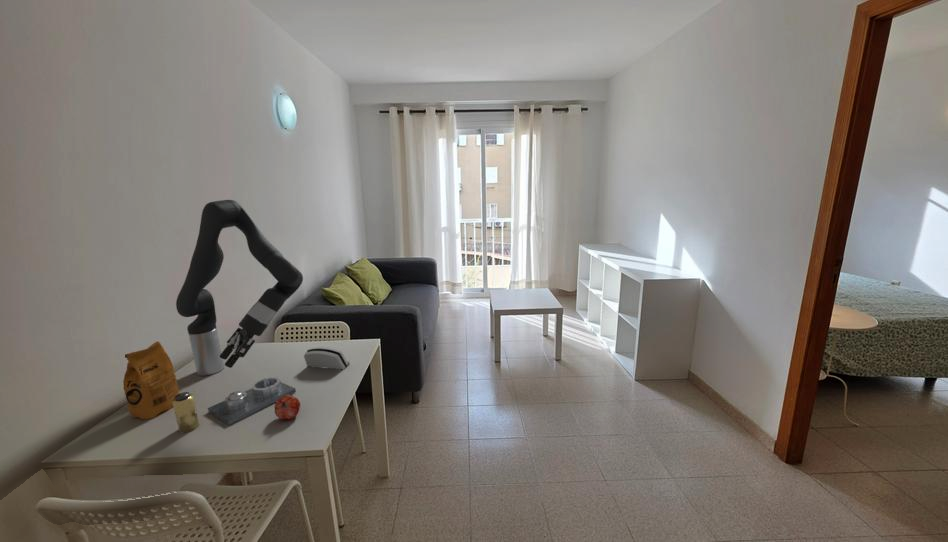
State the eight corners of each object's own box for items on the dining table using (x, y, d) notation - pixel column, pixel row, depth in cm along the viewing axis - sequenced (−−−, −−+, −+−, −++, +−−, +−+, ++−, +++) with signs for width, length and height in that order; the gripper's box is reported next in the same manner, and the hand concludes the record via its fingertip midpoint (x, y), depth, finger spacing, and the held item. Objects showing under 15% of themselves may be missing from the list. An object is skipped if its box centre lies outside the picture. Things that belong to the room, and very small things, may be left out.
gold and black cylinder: (176, 429, 118) (168, 396, 115) (194, 421, 122) (187, 389, 119) (183, 434, 115) (175, 401, 113) (202, 425, 119) (195, 393, 117)
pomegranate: (280, 419, 125) (263, 416, 116) (288, 395, 128) (272, 391, 119) (302, 422, 124) (287, 420, 115) (309, 398, 127) (294, 394, 118)
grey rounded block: (350, 363, 157) (343, 345, 152) (345, 372, 153) (337, 354, 148) (314, 361, 161) (306, 343, 155) (308, 369, 157) (299, 351, 152)
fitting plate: (208, 412, 126) (205, 397, 125) (273, 382, 144) (271, 369, 143) (229, 425, 119) (226, 409, 118) (295, 392, 137) (293, 377, 135)
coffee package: (125, 418, 125) (108, 355, 120) (163, 398, 137) (149, 339, 132) (148, 422, 122) (132, 357, 118) (186, 400, 134) (172, 341, 129)
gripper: (242, 308, 130) (209, 351, 125) (253, 317, 120) (217, 364, 115) (262, 319, 135) (231, 360, 130) (274, 328, 124) (240, 374, 119)
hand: (224, 362), depth 122 cm, fingers open, 8 cm apart
